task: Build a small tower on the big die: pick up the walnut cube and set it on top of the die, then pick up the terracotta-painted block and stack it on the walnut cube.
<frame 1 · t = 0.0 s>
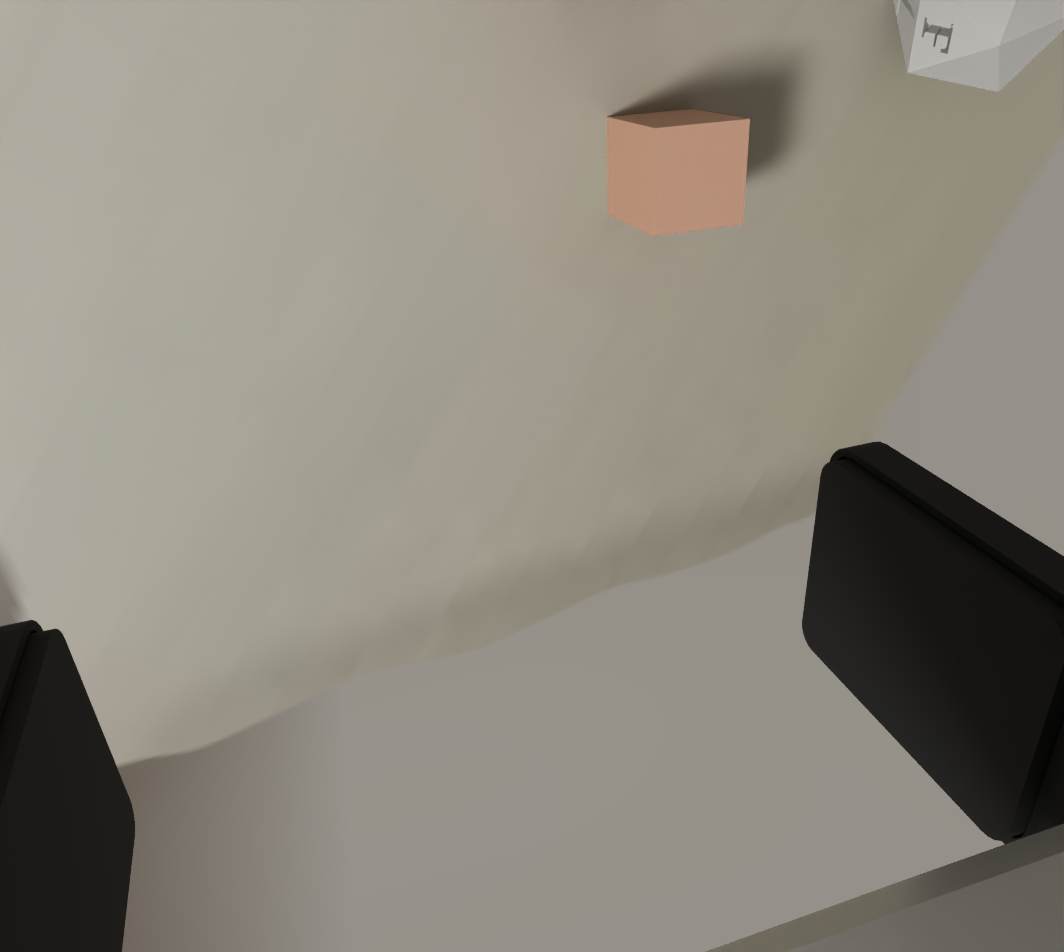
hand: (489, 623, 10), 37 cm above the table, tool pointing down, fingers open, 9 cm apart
block terracotta: (649, 161, 47), on the table
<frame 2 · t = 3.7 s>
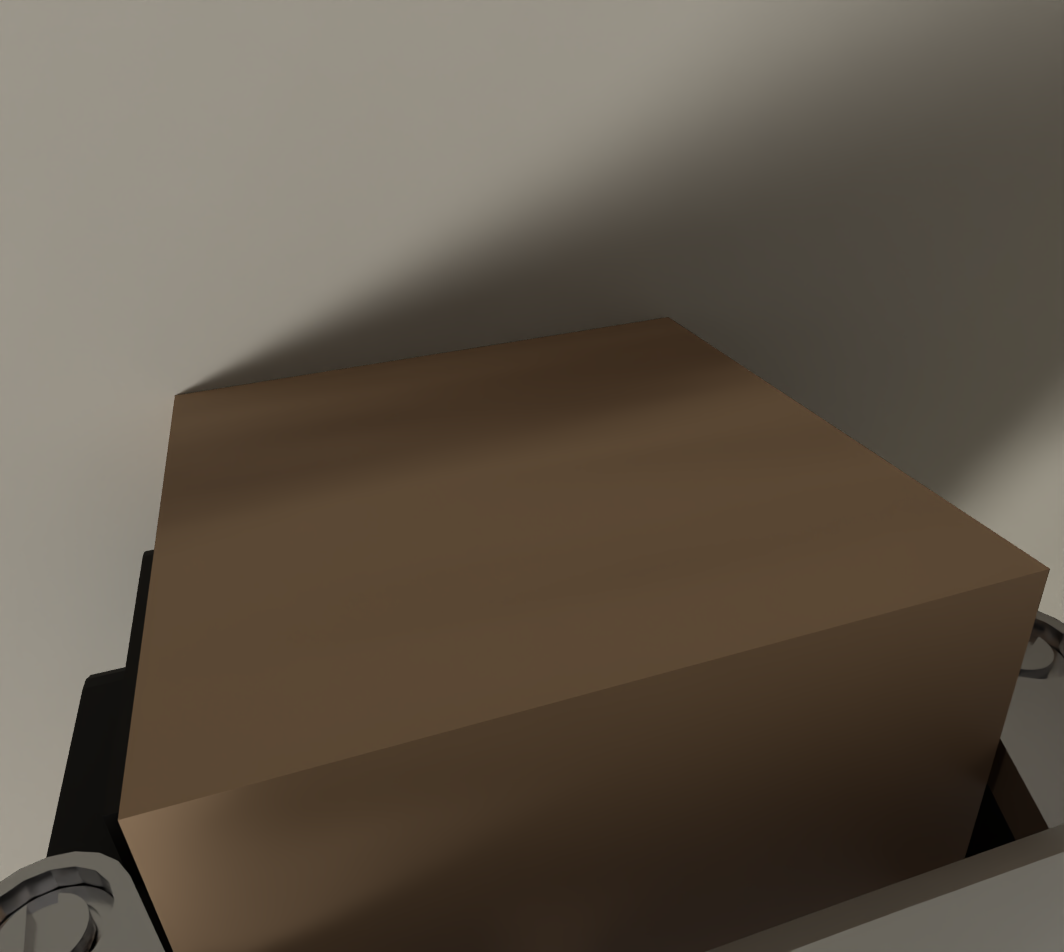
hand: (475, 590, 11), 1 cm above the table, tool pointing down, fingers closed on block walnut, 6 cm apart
block walnut: (462, 560, 12), on the table, touching gripper
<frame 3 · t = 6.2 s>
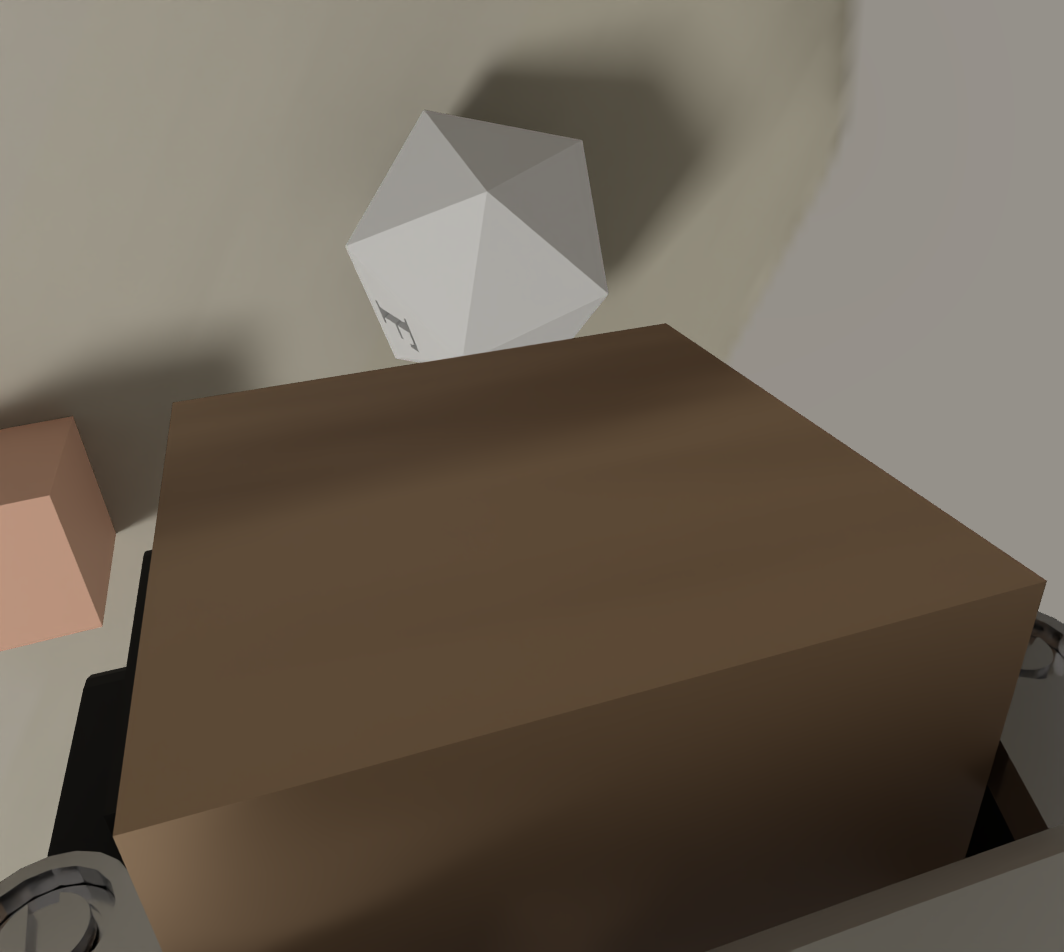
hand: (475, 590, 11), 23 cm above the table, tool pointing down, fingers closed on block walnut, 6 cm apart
block walnut: (460, 566, 12), point 22 cm above the table, touching gripper
block terracotta: (21, 491, 31), on the table
die: (453, 229, 32), on the table
when the fingers open (10 cm above the table, at t = 8.9 s): block walnut drops 2 cm, resting on die.
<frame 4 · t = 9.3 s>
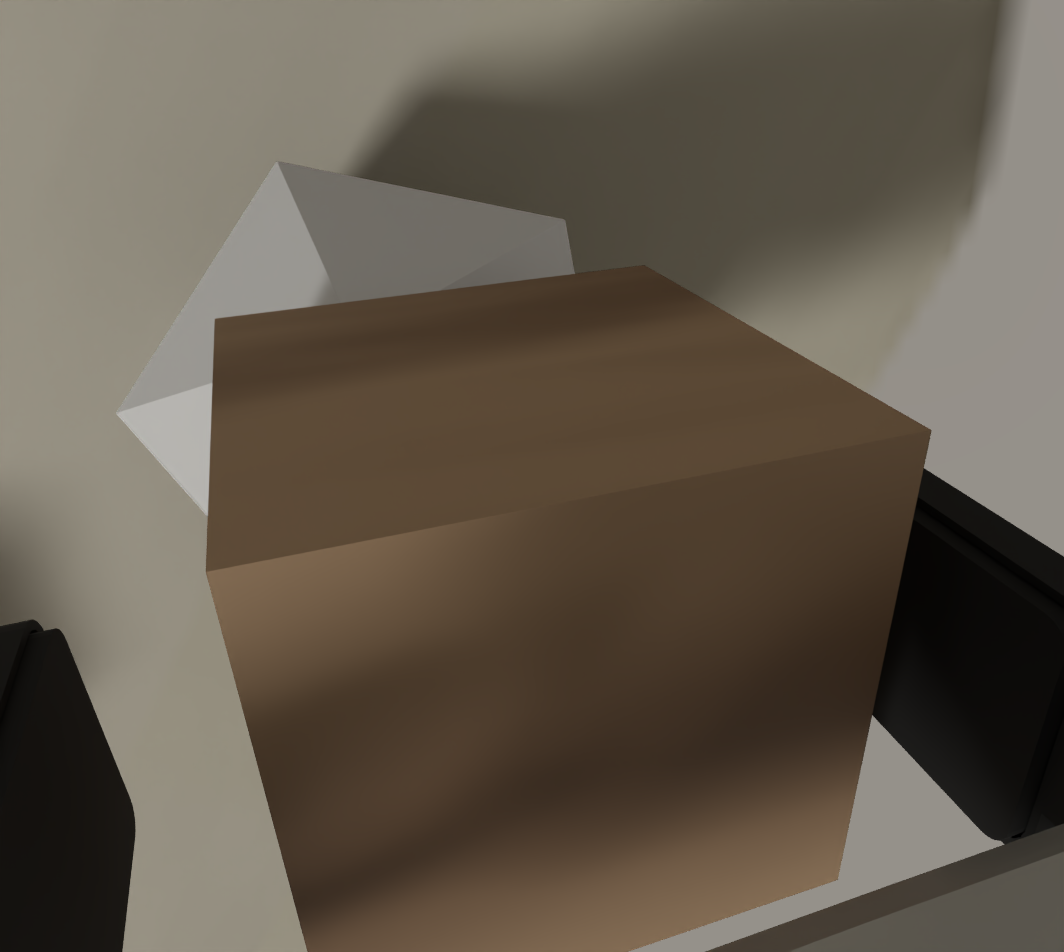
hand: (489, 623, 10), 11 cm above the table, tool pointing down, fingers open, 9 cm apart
block walnut: (460, 481, 13), point 8 cm above the table, touching die
die: (364, 344, 20), on the table, touching block walnut
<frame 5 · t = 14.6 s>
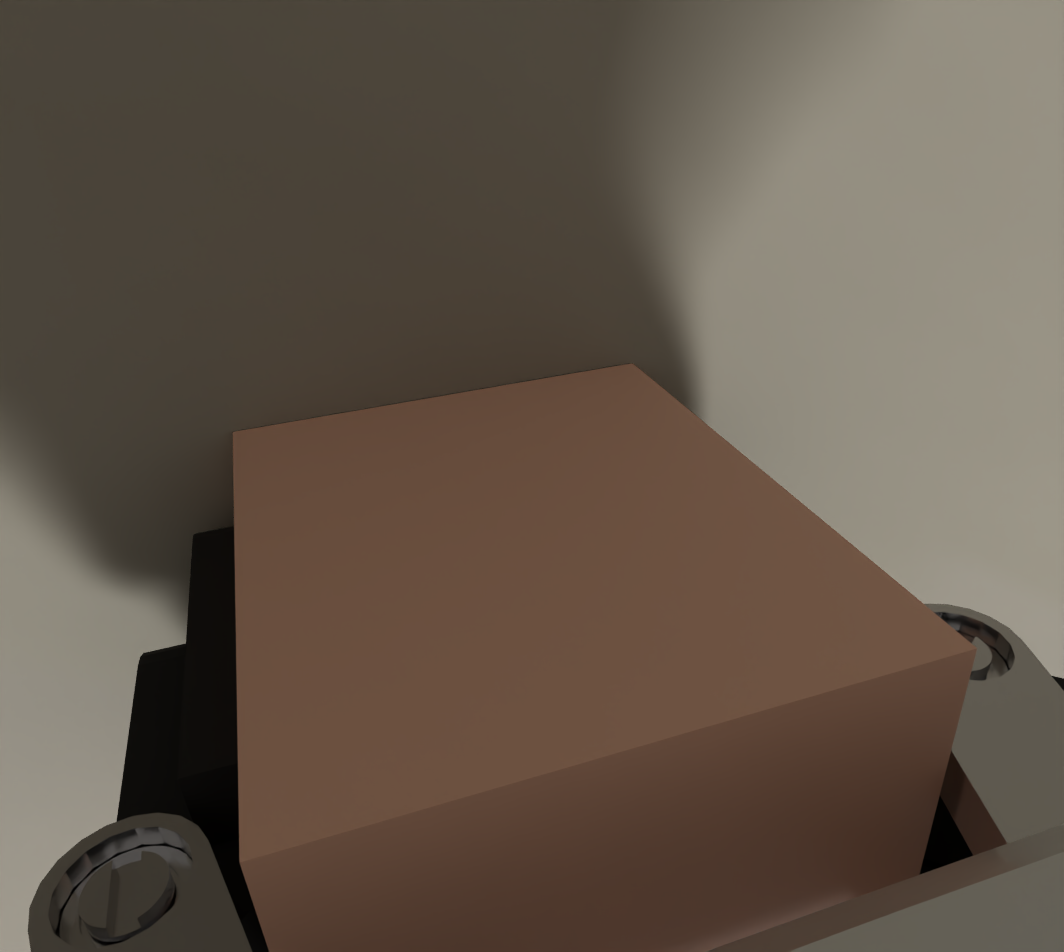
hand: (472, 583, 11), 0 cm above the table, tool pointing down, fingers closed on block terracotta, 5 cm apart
block terracotta: (463, 563, 12), on the table, touching gripper
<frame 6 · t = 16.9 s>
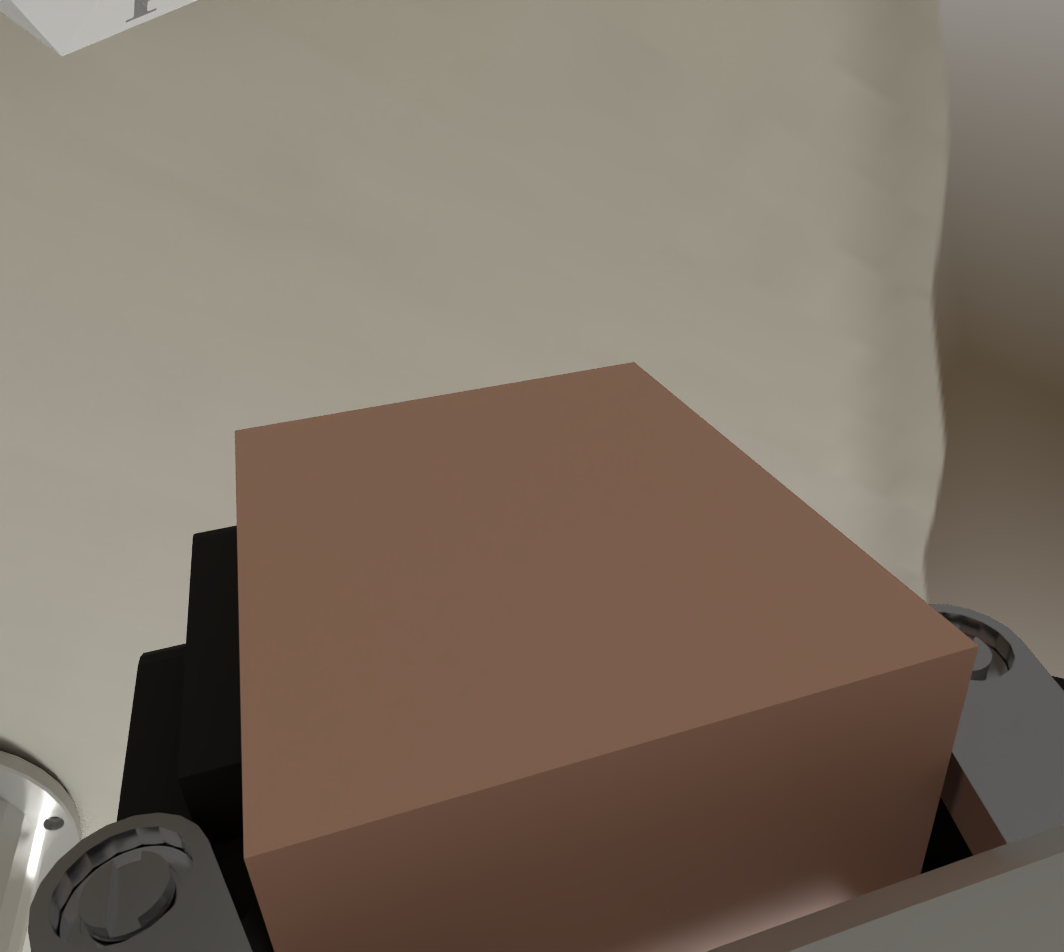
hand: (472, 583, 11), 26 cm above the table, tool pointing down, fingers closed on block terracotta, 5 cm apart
block terracotta: (464, 562, 12), point 25 cm above the table, touching gripper
when the fingers open (16 cm above the table, at t = 19.7 s): block terracotta drops 2 cm, resting on block walnut.
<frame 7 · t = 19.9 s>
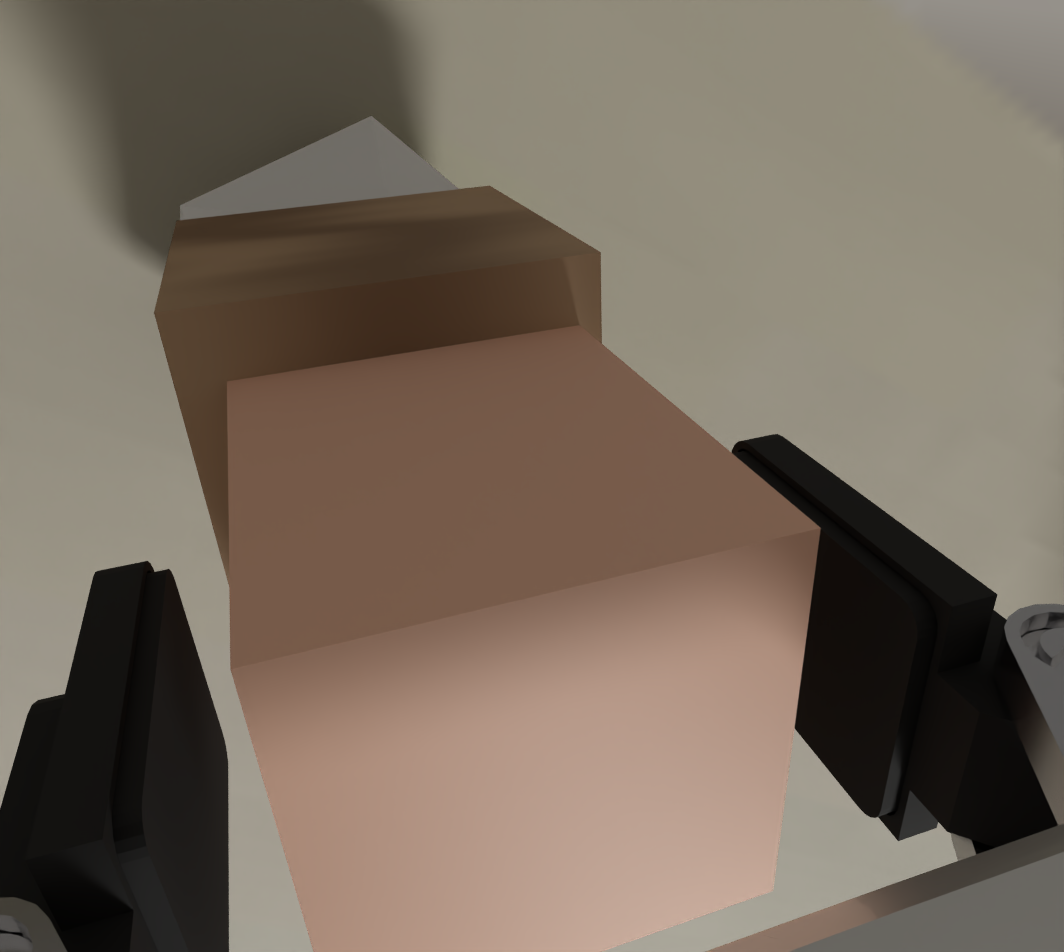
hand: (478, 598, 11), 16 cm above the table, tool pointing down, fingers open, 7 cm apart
block walnut: (362, 349, 18), point 8 cm above the table, touching block terracotta, die
block terracotta: (431, 504, 13), point 14 cm above the table, touching block walnut
die: (338, 279, 25), on the table, touching block walnut
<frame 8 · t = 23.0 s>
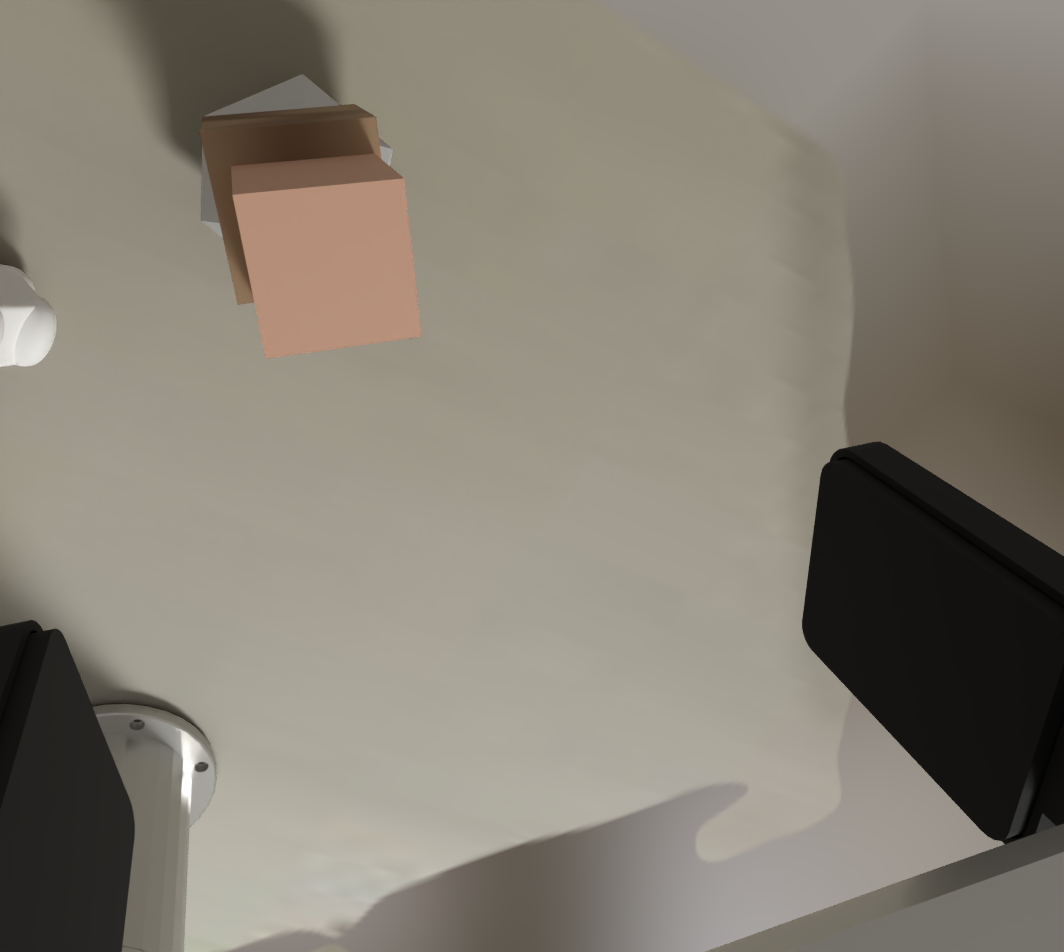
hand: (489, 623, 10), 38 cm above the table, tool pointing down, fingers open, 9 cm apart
block walnut: (294, 186, 36), point 8 cm above the table, touching block terracotta, die
block terracotta: (315, 231, 31), point 14 cm above the table, touching block walnut
die: (290, 172, 43), on the table, touching block walnut
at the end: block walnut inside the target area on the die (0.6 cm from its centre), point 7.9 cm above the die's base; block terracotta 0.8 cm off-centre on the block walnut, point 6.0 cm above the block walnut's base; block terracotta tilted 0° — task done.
